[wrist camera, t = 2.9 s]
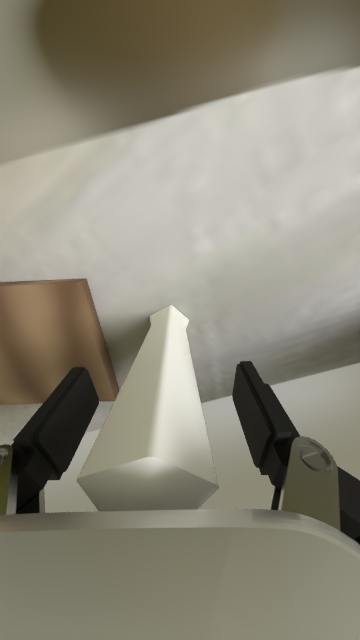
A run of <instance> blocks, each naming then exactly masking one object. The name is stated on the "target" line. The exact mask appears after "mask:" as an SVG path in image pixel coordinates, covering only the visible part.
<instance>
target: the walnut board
mask: <svg viewBox="0 0 360 640" xmlns="http://www.w3.org/2000/svg"><path fill="white" fill-rule="evenodd" d="M73 367H85V369H87V370H88V371H89V374H90V377H91V379H92V382H93V384H94V387H95V390H96V392H97V395H98V397H99V401H115V400H116V397H117V395H118V392H119V388H118V384H117V381H116V377H115V374H114V371H113V367H112V364H111V360H110V357H109V354H108V350H107V347H106V343H105V340H104V337H103V333H102V330H101V326H100V323H99V320H98V316H97V313H96V309H95V306H94V303H93V299H92V296H91V293H90V289H89V286H88V282H87V279H66V280H42V281H19V282H0V404H31V403H44V402H45V401H46V399H47V398H48V397H49V396H50V394H51V393H52V392H53V391H54V390H55V388H56V387H57V386H58V385H59V383H60V382H61V381H62V380H63V379H64V377H65V376H66V375H67V374H68V372H69V371H70V370H71V369H72V368H73Z"/></svg>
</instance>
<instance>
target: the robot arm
mask: <svg viewBox="0 0 360 640" xmlns="http://www.w3.org/2000/svg"><path fill="white" fill-rule="evenodd" d="M233 401H234V404H235V407H236V410H237V414H238V416H239V420H240V422H241V425H242V429H243V432H244V435H245V438H246V441H247V444H248V447H249V450H250V453H251V456H252V459H253V462H254V465H255V466H256V467H258V468H259V469H260V472H261V475H268V476H269V478H270V481H271V483H272V485H274V487H273V492H272V497H271V501H270V506H269V510H265V509H203V510H202V509H200V510H143V511H98V512H61V513H45V500H44V499H45V498H44V486H45V484H46V483H47V481H48V480H60V478H61V475H62V474H63V472H65V471H66V470H67V469H68V466H69V465H70V462H71V461H72V458H73V456H74V454H75V452H76V450H77V448H78V446H79V444H80V442H81V440H82V438H83V436H84V434H85V431H86V429H87V427H88V425H89V423H90V421H91V419H92V417H93V415H94V413H95V411H96V409H97V407H98V404H99V397H98V395H97V392H96V390H95V387H94V384H93V382H92V379H91V377H90V374H89V371H88V370H87V369H85V367H73V368H72V369H71V370H70V371H69V372H68V374H67V375H66V376H65V377H64V379H63V380H62V381H61V382H60V383H59V385H58V386H57V387H56V388H55V390H54V391H53V392H52V393H51V394H50V396H49V397H48V398H47V399H46V401H45V402H44V403H43V404H42V406H41V407H40V408H39V409H38V410H37V412H36V413H35V414H34V415H33V417H32V418H31V419H30V420H29V421H28V423H27V424H26V425H25V426H24V428H23V429H22V430H21V431H20V432H19V434H18V435H17V436H16V437H15V439H14V443H13V444H12V445H11V446H10V445H7V444H4V445H0V640H360V481H359V480H358V479H356V478H355V477H353V476H352V475H350V474H349V473H347V472H346V471H344V470H342V469H341V468H339V467H338V466H337V464H336V462H335V460H334V458H333V456H332V455H331V454H330V452H329V451H328V450H327V449H326V448H325V447H324V446H323V445H322V444H320V443H319V442H317V441H316V440H314V439H311V438H309V437H305V436H300V435H299V433H298V432H297V430H296V428H295V427H294V425H293V423H292V422H291V420H290V419H289V417H288V415H287V414H286V412H285V410H284V409H283V407H282V405H281V404H280V402H279V400H278V399H277V397H276V395H275V394H274V392H273V390H272V389H271V387H270V386H269V385H268V384H264V383H263V381H262V379H261V378H260V376H259V374H258V372H257V371H256V369H255V367H254V366H253V364H252V362H251V361H241V362H240V364H237V368H236V374H235V381H234V388H233Z"/></svg>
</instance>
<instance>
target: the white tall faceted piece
mask: <svg viewBox="0 0 360 640" xmlns="http://www.w3.org/2000/svg"><path fill="white" fill-rule="evenodd" d="M150 323H151V327H150V329H149V331H148V333H147V336H146V338H145V340H144V342H143V344H142V346H141V348H140V350H139V352H138V354H137V356H136V358H135V360H134V362H133V364H132V367H131V369H130V371H129V373H128V375H127V377H126V379H125V381H124V383H123V385H122V387H121V389H120V391H119V393H118V396H117V398H116V400H115V402H114V404H113V406H112V408H111V410H110V412H109V414H108V416H107V418H106V420H105V422H104V424H103V427H102V429H101V431H100V433H99V435H98V437H97V439H96V441H95V443H94V445H93V447H92V449H91V451H90V454H89V455H88V458H87V460H86V462H85V464H84V466H83V468H82V470H81V472H80V474H79V476H78V478H77V482H78V483H79V485H80V486H81V488H82V489H83V490H84V492H85V493H86V494H87V496H88V497H89V498H90V500H91V501H92V503H93V504H94V505H95V507H96V508H97V509H98V511H143V510H197V509H198V508H199V507H200V506H201V505H202V504H204V502H206V501H207V499H208V498H210V496H212V495H213V494H214V493H215V492H216V491H217V490H218V488H219V486H218V481H217V477H216V472H215V467H214V463H213V458H212V454H211V448H210V443H209V439H208V434H207V429H206V425H205V420H204V415H203V410H202V406H201V401H200V396H199V391H198V387H197V382H196V377H195V373H194V368H193V363H192V358H191V354H190V349H189V344H188V339H187V335H186V328H187V325H188V323H189V320H188V319H187V318H186V317H185V316H184V315H183V314H181V313H180V312H179V311H178V310H177V309H176V308H174V307H173V306H171V305H170V306H167V307H166V308H164V309H162V310H160V311H158V312H156V313H154V314H152V315H151V316H150Z"/></svg>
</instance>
